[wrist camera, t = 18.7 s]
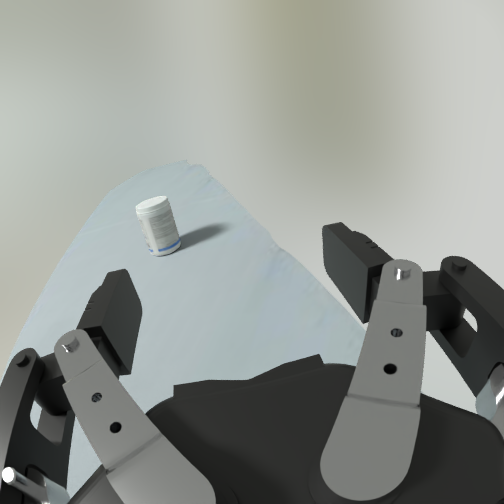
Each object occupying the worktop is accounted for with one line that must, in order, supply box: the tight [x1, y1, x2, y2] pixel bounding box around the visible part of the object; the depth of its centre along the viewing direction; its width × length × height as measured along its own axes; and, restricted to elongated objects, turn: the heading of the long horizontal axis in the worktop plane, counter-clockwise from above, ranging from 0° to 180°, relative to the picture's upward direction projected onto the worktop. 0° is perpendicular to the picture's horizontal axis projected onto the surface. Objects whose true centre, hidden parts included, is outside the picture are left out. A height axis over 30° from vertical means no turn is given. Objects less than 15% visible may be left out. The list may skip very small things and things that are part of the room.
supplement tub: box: [136, 196, 181, 256], centre depth 79 cm, size 10×10×15 cm
